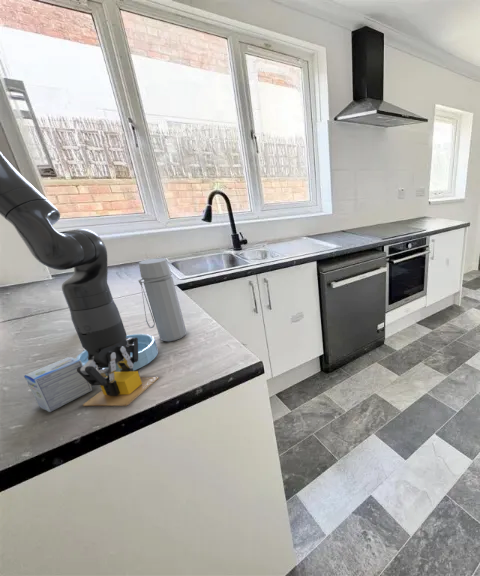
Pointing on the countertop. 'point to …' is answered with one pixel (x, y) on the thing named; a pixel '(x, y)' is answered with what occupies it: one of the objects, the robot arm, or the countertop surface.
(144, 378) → the mat
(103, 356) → the robot arm
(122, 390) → the sponge
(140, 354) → the basin
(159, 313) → the water bottle
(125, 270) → the countertop surface
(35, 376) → the medicine box
